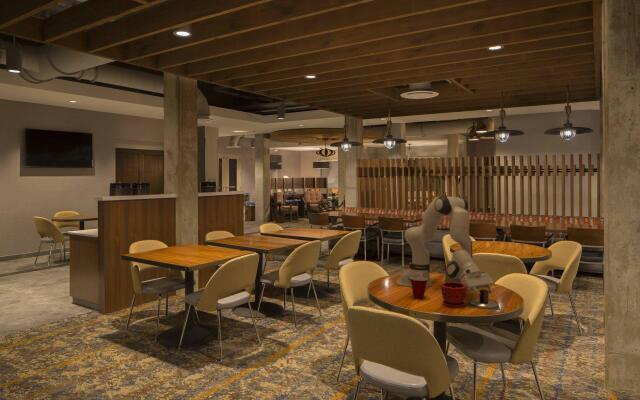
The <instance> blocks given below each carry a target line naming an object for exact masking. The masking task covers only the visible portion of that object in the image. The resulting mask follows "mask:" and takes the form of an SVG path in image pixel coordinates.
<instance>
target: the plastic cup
mask: <svg viewBox="0 0 640 400" xmlns="http://www.w3.org/2000/svg"><path fill="white" fill-rule="evenodd" d="M410 280H411V285H412V287H411V290H412V296H413V299H415V300H423V299H424V297H425V292H426V288H427V287H426V284H427V281H428V279H427V278H422V277H410Z"/></svg>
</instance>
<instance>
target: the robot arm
mask: <svg viewBox="0 0 640 400" xmlns="http://www.w3.org/2000/svg"><path fill="white" fill-rule="evenodd" d="M468 209H469V202H468V201H467V200H466V199H465V198H462V197H457V196H444V195H442V196H436V197H435V198H433V200H432V201H431V202H430V203H429V204H428V206H427V207H426V209H425V211H424V212H423V215H422V216H421V221H422V224H421V225H419V226H411V227H409V228H407V229H406V230H405V231H404V240H405V241H406V242H407V243H408V244H409V246H410V248H411V253H412V254H411V257H412V258H411V259H412V260H411V262H409V263H408V267H409V268H408V269H406V270H404V272H402V273H401V275H400V278H399V279H398V280H397V282H396V284H397V285H398V286H400V287H401V286H404V287H410V288H412V285H411V280H410V277H422V278H427V279H428V281H427V284H426V288H428V287H430V286H432V281H431V275H430V272H431V264H430V251H429V250H428V249H427V248H426V246H425V243H429V242H432V241H435V240H436V239H437V237H438V231H437V227H438V225H439V224H440V222H441V220H442V219H443V217H444V216H446V217H447V216H449V220H450V222H449V236H450V238H451V239H452V240H453V241H454V242H455V243H457V244H459V245H460V247H461V248H460V249H457V250H455V251H454V252H452V258H451V259H450V260H451V262H450V263H449V264H448V265H447V264H446V269H445V274H446V273H447V275H448V276H449V277H450V278H453V279H460V280H461V283H462V285H466V291H472V292H473V293H474V294H475V295H476V296H480V290H478V289H482V288H483V289H484V288H487V290H488V295H489V294H493V293H494V292H493V289H492V287H493V286H494V284H495V281H494V279H493V278H492V277H491V276H490V275H489V273H487V272H485V271H481V270H480V268H479V267H478V265H477V264H476V263H475V262H474V260H473V258H474V257H473V242H472V238H471V237H470V213H469V211H468ZM463 287H464V286H463Z"/></svg>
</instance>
